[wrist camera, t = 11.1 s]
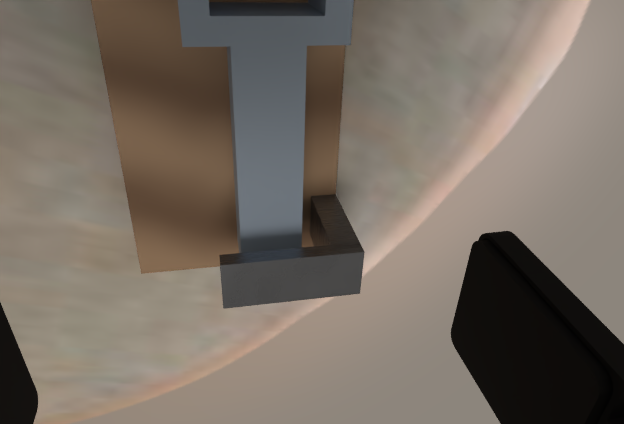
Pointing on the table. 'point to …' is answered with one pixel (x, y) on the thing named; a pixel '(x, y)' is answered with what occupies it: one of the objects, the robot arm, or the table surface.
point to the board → (195, 132)
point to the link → (267, 102)
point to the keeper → (298, 264)
